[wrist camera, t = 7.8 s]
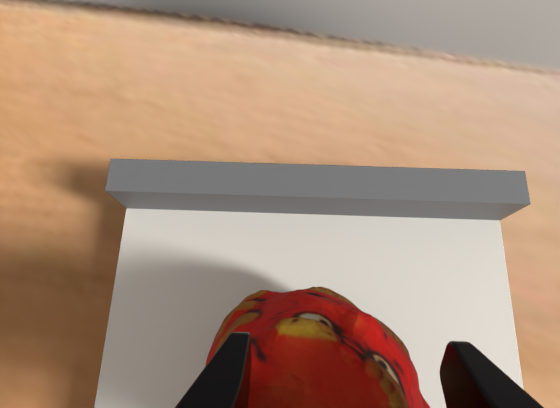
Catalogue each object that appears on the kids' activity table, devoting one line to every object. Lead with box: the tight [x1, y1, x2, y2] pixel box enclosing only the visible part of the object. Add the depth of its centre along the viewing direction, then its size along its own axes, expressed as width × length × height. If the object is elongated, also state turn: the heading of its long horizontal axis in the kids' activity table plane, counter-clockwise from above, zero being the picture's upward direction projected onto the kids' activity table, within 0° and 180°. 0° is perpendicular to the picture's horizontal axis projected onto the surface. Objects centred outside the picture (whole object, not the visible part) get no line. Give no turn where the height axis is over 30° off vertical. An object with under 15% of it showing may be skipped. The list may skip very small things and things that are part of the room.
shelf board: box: [94, 159, 530, 408], centre depth 17 cm, size 18×18×6 cm
